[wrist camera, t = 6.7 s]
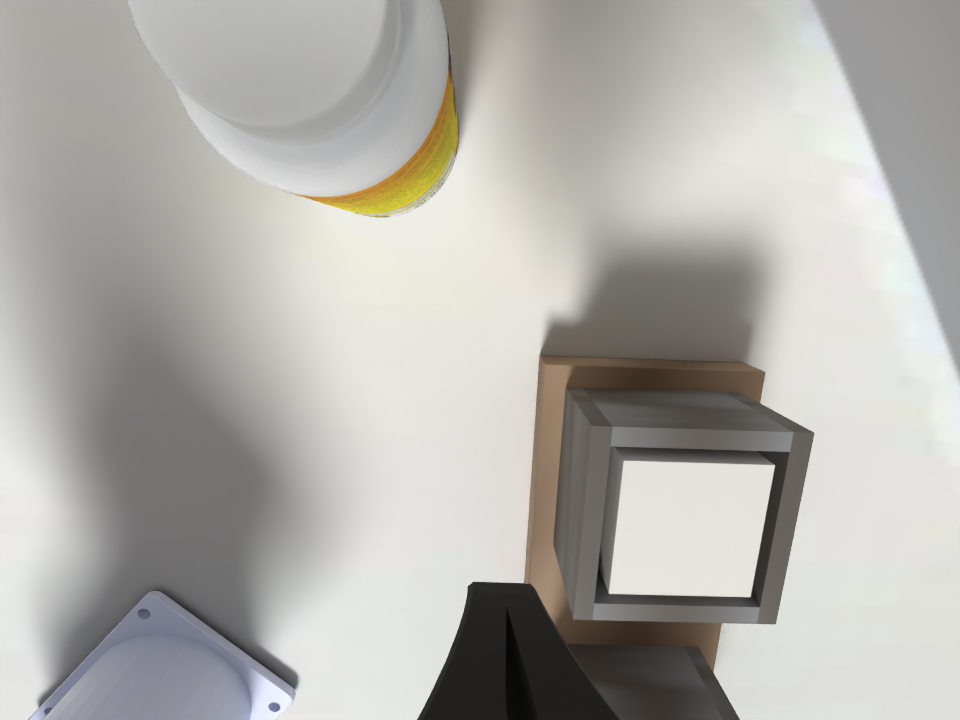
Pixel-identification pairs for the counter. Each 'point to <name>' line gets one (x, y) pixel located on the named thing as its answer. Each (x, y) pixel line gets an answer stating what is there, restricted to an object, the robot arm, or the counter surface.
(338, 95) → the supplement bottle
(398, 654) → the counter surface
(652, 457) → the white key
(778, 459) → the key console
